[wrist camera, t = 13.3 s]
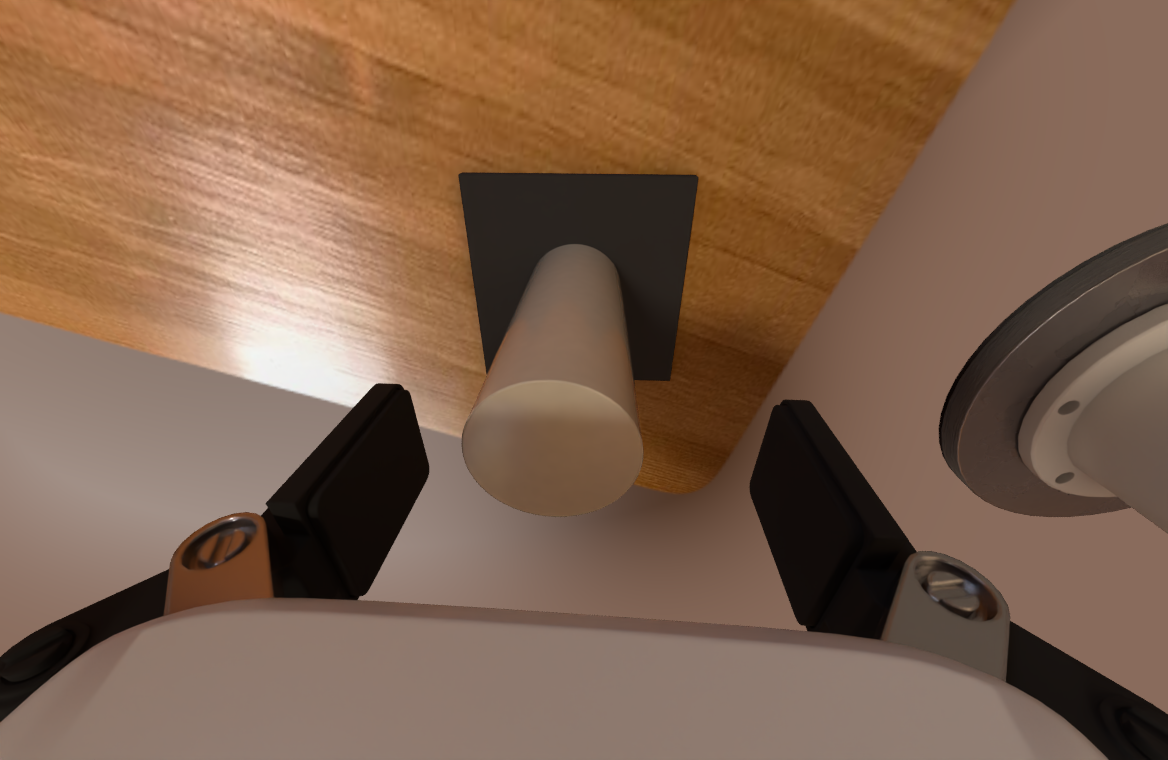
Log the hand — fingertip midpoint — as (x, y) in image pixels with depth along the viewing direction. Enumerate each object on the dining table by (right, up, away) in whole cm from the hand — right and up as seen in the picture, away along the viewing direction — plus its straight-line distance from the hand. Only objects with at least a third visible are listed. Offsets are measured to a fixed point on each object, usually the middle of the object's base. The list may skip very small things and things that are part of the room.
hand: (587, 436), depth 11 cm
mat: (0, +6, +9) cm, 11 cm away
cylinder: (-1, +6, +9) cm, 11 cm away
